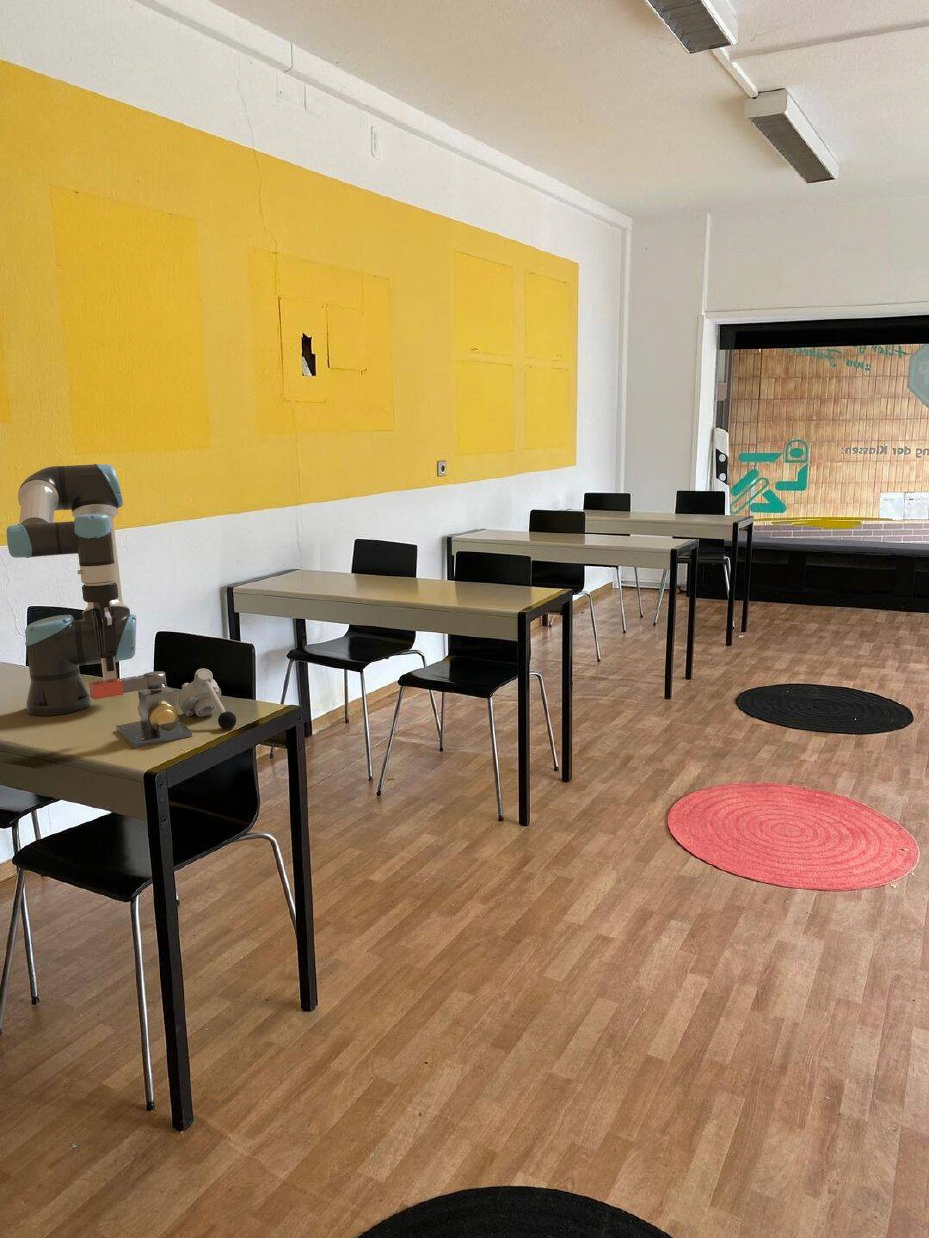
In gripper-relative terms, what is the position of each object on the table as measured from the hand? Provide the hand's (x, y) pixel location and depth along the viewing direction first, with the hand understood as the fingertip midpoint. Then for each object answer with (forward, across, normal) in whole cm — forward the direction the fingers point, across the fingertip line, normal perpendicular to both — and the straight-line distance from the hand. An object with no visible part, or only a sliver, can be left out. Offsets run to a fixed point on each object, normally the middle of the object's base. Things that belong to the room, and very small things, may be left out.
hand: (110, 683), depth 216 cm
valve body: (+12, +5, +7) cm, 15 cm away
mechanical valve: (+12, +4, +22) cm, 25 cm away
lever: (+1, +6, +3) cm, 6 cm away
